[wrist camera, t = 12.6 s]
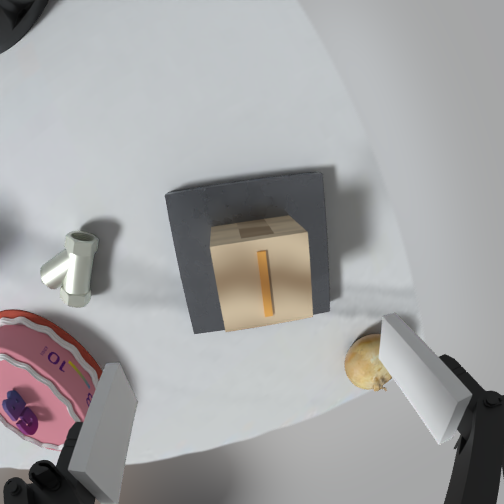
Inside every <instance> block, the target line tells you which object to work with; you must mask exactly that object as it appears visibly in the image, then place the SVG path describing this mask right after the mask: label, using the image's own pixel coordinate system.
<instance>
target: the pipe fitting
mask: <svg viewBox="0 0 504 504" xmlns="http://www.w3.org/2000/svg"><path fill="white" fill-rule="evenodd" d="M98 242H99V239H98V238H97V237H96V236H95V235H93V234H91V233H88V232H84V231H72V232H70V233H68V234H67V235H66V238H65V246H64V247H65V248H66V249H65V250H63V251H62V252H60V253H59V254H57V255H56V256H55V257H53V258H52V259H51V260H49V261H48V262H46V263H45V264H44V265H42V267H41V270H40V274H41V278H42V282H43V283H44V284H45V285H46V286H47V287H49V288H50V289H57V288H58V287H60V286H61V285H62V286H61V288H60V298H61V300H62V301H63V302H64V303H65V304H66V305H68V306H71V307H85V306H86V305H87V304H88V303H89V301H90V299H91V289H90V279H91V272H92V265H93V258H94V253H96V251H97V248H98Z"/></svg>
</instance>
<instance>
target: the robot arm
mask: <svg viewBox="0 0 504 504" xmlns="http://www.w3.org/2000/svg"><path fill="white" fill-rule="evenodd" d="M47 2H48V0H0V53H2V52H4V51H5V50H7V49H8V48H10V47H11V46H12V45H14V44H15V43H16V42H17V41H18V40H19V39H21V38H22V37H23V36H24V35H25V33H26V32H27V31H28V30H29V29H30V28H31V27H32V25H33V24H34V23H35V22H36V20H37V19H38V17H39V16H40V14H41V13H42V11H43V9H44V8H45V6H46V4H47ZM379 360H380V361H381V362H382V364H383V365H384V367H385V368H386V369H387V371H388V372H389V374H390V375H391V376H392V378H393V379H394V381H395V382H396V383H397V385H398V386H399V388H400V389H401V390H402V392H403V393H404V395H405V396H406V398H407V399H408V400H409V402H410V403H411V405H412V406H413V408H414V409H415V410H416V412H417V413H418V415H419V416H420V418H421V419H422V421H423V422H424V424H425V425H426V427H427V428H428V429H429V431H430V433H431V434H432V435H433V437H434V438H435V440H436V441H437V443H438V444H439V445H440V444H442V443H443V442H446V441H448V440H450V439H451V438H453V436H454V434H455V432H456V430H458V431H459V432H460V434H461V435H460V437H459V439H458V441H457V443H456V445H455V447H454V449H456V448H457V452H456V457H455V462H454V467H453V471H452V475H451V479H450V483H449V487H448V491H447V494H446V498H445V501H444V504H496V502H497V496H498V490H499V483H500V476H501V468H502V469H503V477H504V395H502V396H501V395H500V394H499V393H497V392H494V391H485V390H484V389H483V388H482V387H481V386H480V385H479V384H478V383H477V382H476V381H475V380H474V379H473V378H472V377H471V375H470V374H469V373H468V372H466V370H465V369H464V368H463V367H461V365H460V364H459V363H458V362H457V361H456V360H455V359H454V358H452V357H450V356H448V355H445V354H444V355H442V356H440V357H438V356H437V355H436V354H435V353H434V352H433V351H432V350H431V349H430V348H429V347H428V346H427V345H426V343H425V342H424V341H423V340H422V339H421V338H420V337H419V336H418V335H417V334H416V333H415V332H414V331H413V330H412V329H411V328H410V327H409V326H408V325H407V324H406V323H405V322H404V321H403V320H402V319H401V318H400V317H399V316H398V315H397V314H396V313H392V314H388V315H384V316H382V328H381V339H380V349H379ZM137 403H138V401H137V399H136V397H135V395H134V393H133V390H132V388H131V386H130V384H129V382H128V380H127V378H126V376H125V373H124V371H123V369H122V367H121V365H120V362H118V363H106V365H105V367H104V370H103V372H102V375H101V377H100V380H99V382H98V385H97V387H96V390H95V392H94V395H93V398H92V400H91V403H90V406H89V408H88V411H87V414H86V417H85V419H84V422H75V423H74V424H73V426H72V427H71V428H70V429H69V431H68V434H67V437H66V440H65V442H64V447H63V448H62V451H61V453H60V456H59V459H58V462H57V465H56V466H55V465H54V464H53V463H52V462H50V461H48V460H41V461H38V462H36V463H35V464H33V465H32V467H31V468H30V471H29V479H30V480H31V481H32V482H33V483H31V484H26V483H25V482H24V481H23V480H22V479H20V478H18V477H14V478H11V479H9V480H8V481H7V482H6V484H5V486H4V491H3V493H4V504H94V502H95V498H96V499H97V500H98V501H99V502H100V503H101V504H118V503H119V496H120V490H121V484H122V478H123V472H124V467H125V461H126V456H127V451H128V446H129V441H130V436H131V431H132V426H133V421H134V417H135V412H136V408H137ZM457 446H458V447H457Z"/></svg>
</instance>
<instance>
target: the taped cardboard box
mask: <svg viewBox="0 0 504 504" xmlns="http://www.w3.org/2000/svg"><path fill="white" fill-rule="evenodd" d="M210 251H211V257H212V262H213V268H214V273H215V279H216V284H217V290H218V295H219V300H220V306H221V311H222V316H223V321H224V326H225V331H226V332H229V331H236V330H242V329H249V328H255V327H261V326H267V325H272V324H278V323H284V322H289V321H294V320H300V319H305V318H310V317H313V306H312V287H311V270H310V255H309V241H308V232H307V231H306V230H305V229H304V228H303V227H302V226H301V225H299V224H298V223H297V222H296V221H295V220H294V219H293V218H292V217H290V216H289V215H288V216H281V217H274V218H267V219H260V220H253V221H246V222H240V223H233V224H226V225H220V226H213V227H211V236H210Z"/></svg>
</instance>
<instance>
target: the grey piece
mask: <svg viewBox="0 0 504 504" xmlns="http://www.w3.org/2000/svg"><path fill="white" fill-rule="evenodd" d="M165 199H166V204H167V210H168V215H169V221H170V226H171V231H172V236H173V242H174V247H175V251H176V256H177V261H178V266H179V271H180V275H181V280H182V284H183V289H184V293H185V297H186V302H187V306H188V310H189V314H190V319H191V323H192V327H193V331H194V334H199V333H206V332H213V331H220V330H225V326H224V321H223V316H222V311H221V306H220V300H219V295H218V290H217V284H216V279H215V273H214V268H213V262H212V257H211V251H210V236H211V227H213V226H220V225H226V224H233V223H240V222H246V221H253V220H260V219H267V218H274V217H281V216H288V215H289V216H290V217H292V218H293V219H294V220H295V221H296V222H297V223H298V224H299V225H301V226H302V227H303V228H304V229H305V230H306V231H307V232H308V241H309V255H310V270H311V287H312V306H313V315H314V314H319V313H324V312H329V311H330V298H329V267H328V245H327V228H326V213H325V199H324V187H323V176H322V173H319V172H310V173H301V174H291V175H283V176H274V177H266V178H258V179H251V180H243V181H236V182H229V183H223V184H216V185H209V186H203V187H197V188H191V189H185V190H179V191H173V192H168V193H167V194H165Z"/></svg>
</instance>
